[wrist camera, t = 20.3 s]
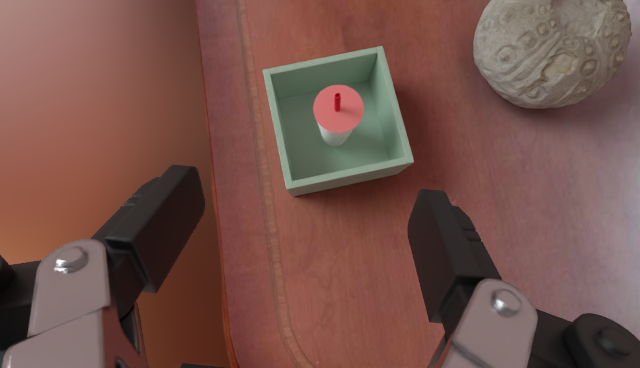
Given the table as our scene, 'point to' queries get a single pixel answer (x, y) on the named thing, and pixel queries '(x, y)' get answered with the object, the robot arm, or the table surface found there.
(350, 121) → the cup
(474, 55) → the decorative shell
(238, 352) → the table surface
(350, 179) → the bin
